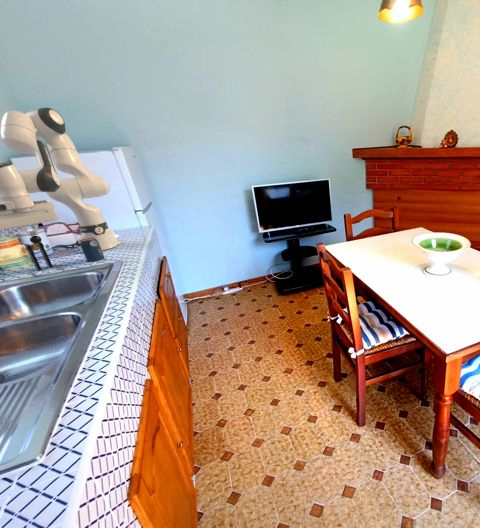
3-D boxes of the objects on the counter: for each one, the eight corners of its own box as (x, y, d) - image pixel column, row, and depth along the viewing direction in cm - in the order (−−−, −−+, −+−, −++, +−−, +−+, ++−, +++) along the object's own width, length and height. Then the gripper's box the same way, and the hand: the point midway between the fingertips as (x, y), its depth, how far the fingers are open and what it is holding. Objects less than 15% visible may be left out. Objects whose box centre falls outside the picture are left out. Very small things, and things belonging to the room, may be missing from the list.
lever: (43, 240, 132) (39, 233, 132) (32, 243, 129) (28, 235, 129) (41, 250, 140) (37, 243, 140) (31, 252, 137) (27, 245, 137)
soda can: (107, 260, 151) (99, 238, 147) (91, 265, 146) (81, 242, 141) (102, 258, 155) (93, 236, 150) (86, 263, 149) (76, 240, 145)
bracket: (62, 269, 143) (49, 242, 138) (37, 276, 136) (22, 248, 131) (54, 265, 149) (42, 239, 144) (29, 272, 142) (15, 244, 137)
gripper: (48, 198, 135) (61, 228, 140) (-19, 207, 119) (-2, 240, 125) (53, 199, 132) (66, 229, 137) (-16, 208, 116) (2, 242, 121)
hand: (33, 235), depth 131 cm, fingers closed
